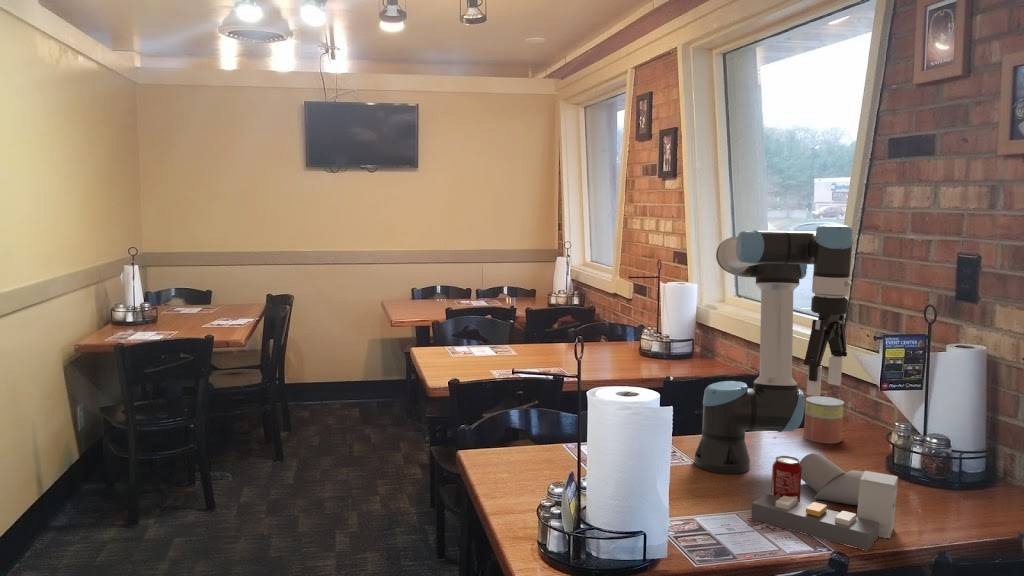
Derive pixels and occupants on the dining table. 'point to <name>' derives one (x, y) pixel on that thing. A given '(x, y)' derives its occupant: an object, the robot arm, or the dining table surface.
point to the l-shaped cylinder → (830, 480)
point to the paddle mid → (816, 509)
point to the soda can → (786, 477)
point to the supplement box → (878, 500)
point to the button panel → (816, 521)
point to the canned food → (823, 419)
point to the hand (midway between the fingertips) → (824, 389)
